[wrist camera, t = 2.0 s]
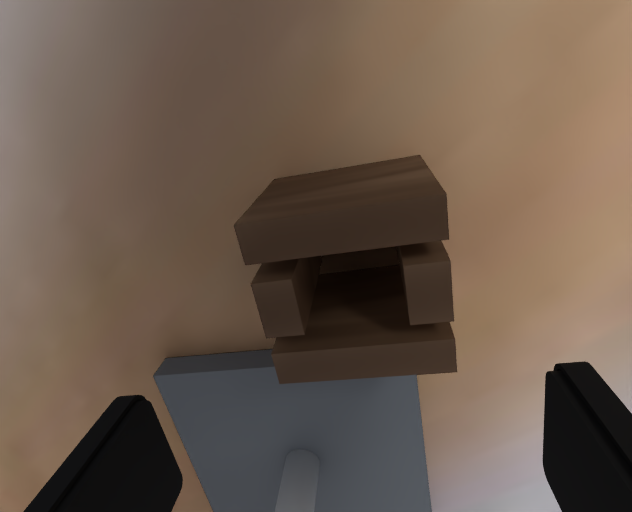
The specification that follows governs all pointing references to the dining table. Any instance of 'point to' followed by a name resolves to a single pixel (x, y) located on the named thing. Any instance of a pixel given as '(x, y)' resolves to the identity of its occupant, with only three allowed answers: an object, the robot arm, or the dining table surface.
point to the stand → (296, 437)
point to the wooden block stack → (353, 272)
